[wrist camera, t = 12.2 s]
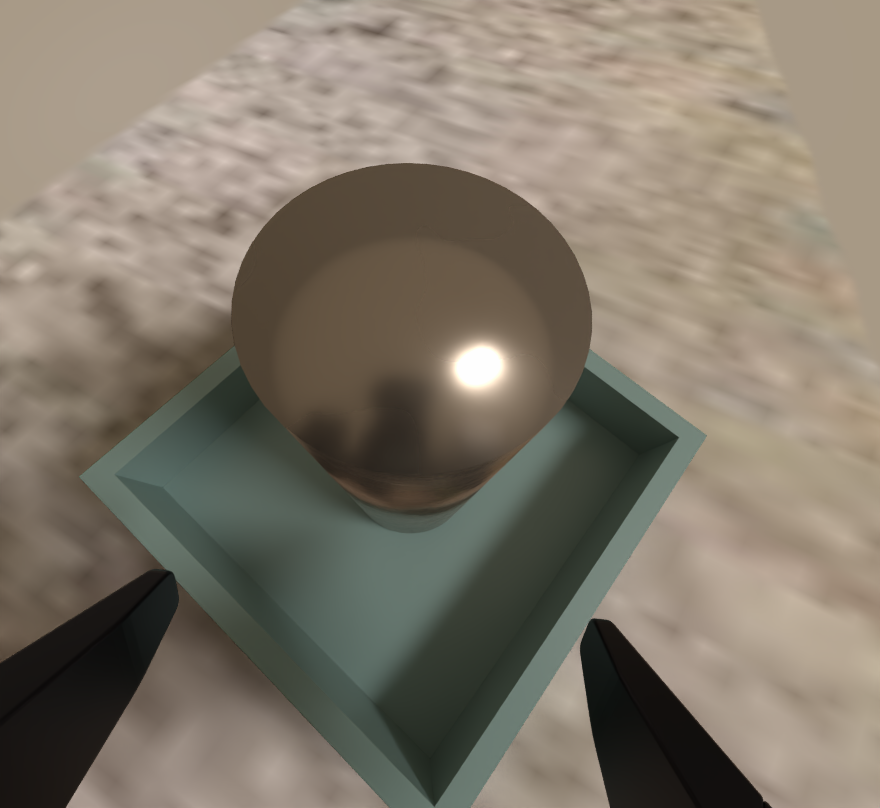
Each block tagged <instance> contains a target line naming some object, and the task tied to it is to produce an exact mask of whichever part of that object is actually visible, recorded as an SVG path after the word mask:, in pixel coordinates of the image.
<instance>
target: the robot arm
mask: <svg viewBox="0 0 880 808" xmlns="http://www.w3.org/2000/svg"><path fill="white" fill-rule="evenodd" d="M178 602H179V595H178V590H177V585H176V580H175V575H174V573H173V572H172V571H169V570H160V569H153V570H150V571H148V572H146V573H144V574H143V575H141V576H140V577H138V578H136V579H135V580H133V581H131V582H130V583H128V584H127V585H125V586H123V587H122V588H120V589H119V590H117V591H115V592H114V593H112V594H111V595H109V596H107V597H106V598H104V599H102V600H101V601H99V602H98V603H96V604H94V605H93V606H91V607H90V608H88V609H86V610H85V611H83V612H82V613H80V614H78V615H77V616H75V617H74V618H72V619H70V620H69V621H67V622H65V623H64V624H62V625H61V626H59V627H57V628H56V629H54V630H53V631H51V632H49V633H48V634H46V635H45V636H43V637H41V638H40V639H38V640H36V641H35V642H33V643H32V644H30V645H28V646H27V647H25V648H24V649H22V650H20V651H19V652H17V653H16V654H14V655H12V656H11V657H9V658H8V659H6V660H4V661H3V662H1V663H0V808H66V806H67V805H68V803H69V801H70V800H71V798H72V796H73V795H74V793H75V791H76V790H77V788H78V786H79V785H80V783H81V781H82V780H83V778H84V776H85V775H86V773H87V771H88V770H89V768H90V767H91V765H92V763H93V762H94V760H95V758H96V757H97V755H98V753H99V752H100V750H101V748H102V747H103V745H104V743H105V742H106V740H107V738H108V737H109V735H110V733H111V732H112V730H113V728H114V727H115V725H116V723H117V722H118V720H119V718H120V717H121V715H122V714H123V712H124V710H125V709H126V707H127V705H128V704H129V702H130V700H131V699H132V697H133V695H134V693H135V692H136V690H137V688H138V686H139V685H140V683H141V681H142V679H143V677H144V675H145V673H146V671H147V669H148V667H149V665H150V663H151V661H152V659H153V657H154V655H155V653H156V650H157V648H158V646H159V644H160V642H161V640H162V638H163V636H164V634H165V632H166V630H167V628H168V626H169V624H170V622H171V620H172V618H173V615H174V613H175V611H176V609H177V606H178ZM580 655H581V662H582V669H583V676H584V683H585V689H586V696H587V703H588V710H589V717H590V723H591V729H592V734H593V739H594V743H595V748H596V752H597V756H598V760H599V764H600V768H601V772H602V776H603V780H604V785H605V789H606V793H607V797H608V801H609V805H610V808H772V807H771V806H770V805H769V804H768V803H767V802H766V801H763V797H762V796H761V794H760V793H759V792H758V791H757V790H756V789H755V788H754V786H753V785H752V784H751V783H750V782H749V781H748V779H747V778H746V777H745V776H744V775H743V774H742V772H741V771H740V770H739V769H738V768H737V767H736V765H735V764H734V763H733V762H732V761H731V760H730V758H729V757H728V756H727V755H726V754H725V753H724V751H723V750H722V749H721V748H720V747H719V746H718V744H717V743H716V742H715V741H714V740H713V739H712V738H711V736H710V735H709V734H708V733H707V732H706V731H705V729H704V728H703V727H702V726H701V725H700V724H699V722H698V721H697V720H696V719H695V718H694V717H693V715H692V714H691V713H690V712H689V711H688V710H687V708H686V707H685V706H684V705H683V704H682V703H681V701H680V700H679V699H678V698H677V697H676V696H675V695H674V693H673V692H672V691H671V690H670V689H669V688H668V686H667V685H666V684H665V683H664V682H663V681H662V679H661V678H660V677H659V676H658V675H657V674H656V672H655V671H654V670H653V669H652V668H651V667H650V665H649V664H648V663H647V662H646V661H645V660H644V658H643V657H642V656H641V655H640V654H639V653H638V651H637V650H636V649H635V648H634V647H633V646H632V645H631V643H630V642H629V641H628V640H627V639H626V638H625V636H624V635H623V634H622V633H621V632H620V631H619V629H618V628H617V627H616V626H615V625H614V624H613V623H612V622H611V621H609V620H604V619H595V618H594V619H591V620H590V621H589V623H588V626H587V628H586V631H585V633H584V636H583V638H582V641H581V645H580Z"/></svg>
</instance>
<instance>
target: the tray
mask: <svg viewBox="0 0 880 808" xmlns="http://www.w3.org/2000/svg"><path fill="white" fill-rule="evenodd" d="M706 436H707V435H705V434H704V433H703V432H701V431H700V430H699V429H697V428H696V427H695V426H693V425H692V424H691V423H689V422H688V421H686V420H685V419H684V418H682V417H681V416H680V415H678V414H677V413H676V412H674V411H673V410H672V409H670V408H669V407H667V406H666V405H665V404H663V403H662V402H661V401H659V400H658V399H657V398H655V397H654V396H653V395H651V394H650V393H648V392H647V391H646V390H644V389H643V388H642V387H640V386H639V385H638V384H636V383H635V382H634V381H632V380H631V379H630V378H628V377H627V376H625V375H624V374H623V373H621V372H620V371H619V370H617V369H616V368H615V367H613V366H612V365H611V364H609V363H608V362H606V361H605V360H604V359H602V358H601V357H600V356H598V355H597V354H596V353H594V352H593V351H592V350H590V349H589V353H588V356H587V360H586V363H585V366H584V370H583V372H582V374H581V376H580V379H579V381H578V383H577V385H576V387H575V389H574V391H573V392H572V394H571V395H570V397H569V398H568V400H567V401H566V403H565V404H564V406H563V407H562V408H561V410H560V411H559V412H558V413H557V414H556V415H555V416H554V417H553V418H552V419H551V420H550V422H549V423H548V424H547V425H546V426H545V427H544V428H543V429H542V430H541V431H540V432H539V433H538V434H537V435H536V436H535V437H534V438H532V439H531V440H530V441H529V442H528V443H527V444H526V445H525V446H524V447H523V448H522V449H521V450H520V451H519V452H518V453H517V454H516V455H515V456H514V457H513V458H512V459H511V460H510V461H509V462H508V463H507V464H506V465H505V466H504V467H503V468H502V469H501V470H500V471H499V472H497V473H496V474H495V475H494V476H493V477H492V478H491V479H490V480H489V481H488V482H487V483H486V484H485V485H484V486H483V487H482V488H481V489H480V490H479V491H478V492H477V493H476V494H475V495H474V496H473V497H472V498H471V499H470V500H469V501H468V502H467V503H466V504H465V505H463V506H462V507H461V508H460V509H459V510H458V511H457V512H456V513H455V514H454V515H453V516H452V517H451V518H450V519H449V520H447V521H446V522H445V523H443V524H442V525H440V526H439V527H436V528H434V529H432V530H429V531H426V532H421V533H408V534H407V533H399V532H395V531H392V530H389V529H387V528H384V527H383V526H381V525H379V524H378V523H376V522H375V521H374V520H372V519H371V518H370V517H369V516H368V515H367V514H366V513H365V512H364V510H363V509H362V508H361V507H360V506H359V505H358V504H357V503H356V502H355V501H354V500H353V499H352V498H351V497H350V496H349V495H348V494H347V493H346V491H345V490H344V489H343V488H342V487H341V486H340V485H339V484H338V483H337V482H336V481H335V480H334V479H333V478H332V477H331V476H330V475H329V474H328V472H327V471H326V470H325V469H324V468H323V467H322V466H321V465H320V464H319V463H318V462H317V461H316V460H315V459H314V458H313V457H312V456H311V455H310V453H309V452H308V451H307V450H306V449H305V448H304V447H303V446H302V445H301V444H300V443H299V442H298V441H297V440H296V439H295V438H294V437H293V436H292V435H291V433H290V432H289V431H288V430H287V429H286V428H285V427H284V426H283V425H282V424H281V423H280V422H279V421H278V420H277V419H276V418H275V417H274V415H273V414H272V413H271V412H270V411H269V410H268V409H267V408H266V407H265V406H264V404H263V403H262V402H261V400H260V399H259V397H258V396H257V394H256V393H255V391H254V390H253V389H252V387H251V385H250V383H249V381H248V379H247V377H246V375H245V373H244V371H243V369H242V367H241V365H240V361H239V358H238V355H237V351H236V348H235V345H234V346H233V347H232V348H231V349H230V350H229V351H227V352H226V353H225V354H224V355H223V356H221V357H220V358H219V359H218V360H217V361H216V362H214V363H213V364H212V365H211V366H210V367H208V368H207V369H206V370H205V371H204V372H202V373H201V374H200V375H199V376H198V377H197V378H195V379H194V380H193V381H192V382H191V383H189V384H188V385H187V386H186V387H185V388H184V389H182V390H181V391H180V392H179V393H178V394H176V395H175V396H174V397H173V398H172V399H170V400H169V401H168V402H167V403H166V404H165V405H163V406H162V407H161V408H160V409H159V410H157V411H156V412H155V413H154V414H153V415H152V416H150V417H149V418H148V419H147V420H146V421H144V422H143V423H142V424H141V425H140V426H138V427H137V428H136V429H135V430H134V431H133V432H131V433H130V434H129V435H128V436H127V437H125V438H124V439H123V440H122V441H121V442H120V443H118V444H117V445H116V446H115V447H114V448H112V449H111V450H110V451H109V452H108V453H106V454H105V455H104V456H103V457H102V458H101V459H99V460H98V461H97V462H96V463H95V464H93V465H92V466H91V467H90V468H89V469H87V470H86V471H85V472H84V473H83V474H82V475H80V476H79V477H80V479H81V480H82V481H83V482H84V483H85V484H86V485H87V486H88V487H89V488H90V489H91V490H92V491H93V492H94V493H95V495H96V496H97V497H98V498H99V499H100V500H101V501H102V502H103V503H104V504H105V505H106V506H107V507H108V508H109V509H110V510H111V512H112V513H113V514H114V515H115V516H116V517H117V518H118V519H119V520H120V521H121V522H122V523H123V524H124V525H125V526H126V528H127V529H128V530H129V531H130V532H131V533H132V534H133V535H134V536H135V537H136V538H137V539H138V540H139V541H140V542H141V543H142V545H143V546H144V547H145V548H146V549H147V550H148V551H149V552H150V553H151V554H152V555H153V556H154V557H155V558H156V559H157V561H158V562H159V563H160V564H161V565H162V566H163V567H164V568H165V569H166V570H169V571H172V572H173V573H174V575H175V580H176V581H177V582H178V583H179V584H180V585H181V586H182V587H183V588H184V589H185V590H186V591H187V592H188V594H189V595H190V596H191V597H192V598H193V599H194V600H195V601H196V602H197V603H198V604H199V605H200V606H201V607H202V608H203V609H204V611H205V612H206V613H207V614H208V615H209V616H210V617H211V618H212V619H213V620H214V621H215V622H216V623H217V624H218V625H219V627H220V628H221V629H222V630H223V631H224V632H225V633H226V634H227V635H228V636H229V637H230V638H231V639H232V640H233V641H234V642H235V644H236V645H237V646H238V647H239V648H240V649H241V650H242V651H243V652H244V653H245V654H246V655H247V656H248V657H249V658H250V660H251V661H252V662H253V663H254V664H255V665H256V666H257V667H258V668H259V669H260V670H261V671H262V672H263V673H264V674H265V676H266V677H267V678H268V679H269V680H270V681H271V682H272V683H273V684H274V685H275V686H276V687H277V688H278V689H279V690H280V691H281V693H282V694H283V695H284V696H285V697H286V698H287V699H288V700H289V701H290V702H291V703H292V704H293V705H294V706H295V707H296V709H297V710H298V711H299V712H300V713H301V714H302V715H303V716H304V717H305V718H306V719H307V720H308V721H309V722H310V723H311V724H312V726H313V727H314V728H315V729H316V730H317V731H318V732H319V733H320V734H321V735H322V736H323V737H324V738H325V739H326V740H327V742H328V743H329V744H330V745H331V746H332V747H333V748H334V749H335V750H336V751H337V752H338V753H339V754H340V755H341V756H342V757H343V759H344V760H345V761H346V762H347V763H348V764H349V765H350V766H351V767H352V768H353V769H354V770H355V771H356V772H357V773H358V775H359V776H360V777H361V778H362V779H363V780H364V781H365V782H366V783H367V784H368V785H369V786H370V787H371V788H372V789H373V790H374V792H375V793H376V794H377V795H378V796H379V797H380V798H381V799H382V800H383V801H384V802H385V803H386V804H387V805H388V806H389V808H470V807H471V806H472V804H473V802H474V801H475V799H476V798H477V796H478V795H479V793H480V791H481V790H482V788H483V787H484V785H485V784H486V782H487V780H488V779H489V777H490V776H491V774H492V773H493V771H494V769H495V768H496V766H497V765H498V763H499V762H500V760H501V758H502V757H503V755H504V754H505V752H506V751H507V749H508V747H509V746H510V744H511V743H512V741H513V740H514V738H515V736H516V735H517V733H518V732H519V730H520V729H521V727H522V725H523V724H524V722H525V721H526V719H527V718H528V716H529V714H530V713H531V711H532V710H533V708H534V707H535V705H536V703H537V702H538V700H539V699H540V697H541V696H542V694H543V692H544V691H545V689H546V688H547V686H548V685H549V683H550V681H551V680H552V678H553V677H554V675H555V674H556V672H557V670H558V669H559V667H560V666H561V664H562V663H563V661H564V659H565V658H566V656H567V655H568V653H569V652H570V650H571V648H572V647H573V645H574V644H575V642H576V641H577V639H578V637H579V636H580V634H581V633H582V631H583V630H584V628H585V627H586V625H587V623H588V622H589V620H590V619H591V617H592V616H593V614H594V612H595V611H596V609H597V608H598V606H599V605H600V603H601V601H602V600H603V598H604V597H605V595H606V594H607V592H608V590H609V589H610V587H611V586H612V584H613V583H614V581H615V579H616V578H617V576H618V575H619V573H620V572H621V570H622V568H623V567H624V565H625V564H626V562H627V561H628V559H629V557H630V556H631V554H632V553H633V551H634V550H635V548H636V546H637V545H638V543H639V542H640V540H641V539H642V537H643V535H644V534H645V532H646V531H647V529H648V528H649V526H650V524H651V523H652V521H653V520H654V518H655V517H656V515H657V513H658V512H659V510H660V509H661V507H662V506H663V504H664V502H665V501H666V499H667V498H668V496H669V495H670V493H671V491H672V490H673V488H674V487H675V485H676V484H677V482H678V480H679V479H680V477H681V476H682V474H683V473H684V471H685V469H686V468H687V466H688V465H689V463H690V462H691V460H692V458H693V457H694V455H695V454H696V452H697V451H698V449H699V447H700V446H701V444H702V443H703V441H704V440H705V438H706Z"/></svg>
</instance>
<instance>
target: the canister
mask: <svg viewBox="0 0 880 808" xmlns="http://www.w3.org/2000/svg"><path fill="white" fill-rule="evenodd" d="M231 324H232V331H233V338H234V345H235V348H236V351H237V355H238V358H239V361H240V365H241V367H242V369H243V371H244V373H245V375H246V377H247V379H248V381H249V383H250V385H251V387H252V389H253V390H254V391H255V393H256V394H257V396H258V397H259V399H260V400H261V402H262V403H263V404H264V406H265V407H266V408H267V409H268V410H269V411H270V412H271V413H272V414H273V415H274V417H275V418H276V419H277V420H278V421H279V422H280V423H281V424H282V425H283V426H284V427H285V428H286V429H287V430H288V431H289V432H290V433H291V435H292V436H293V437H294V438H295V439H296V440H297V441H298V442H299V443H300V444H301V445H302V446H303V447H304V448H305V449H306V450H307V451H308V452H309V453H310V455H311V456H312V457H313V458H314V459H315V460H316V461H317V462H318V463H319V464H320V465H321V466H322V467H323V468H324V469H325V470H326V471H327V472H328V474H329V475H330V476H331V477H332V478H333V479H334V480H335V481H336V482H337V483H338V484H339V485H340V486H341V487H342V488H343V489H344V490H345V491H346V493H347V494H348V495H349V496H350V497H351V498H352V499H353V500H354V501H355V502H356V503H357V504H358V505H359V506H360V507H361V508H362V509H363V510H364V512H365V513H366V514H367V515H368V516H369V517H370V518H371V519H372V520H374V521H375V522H376V523H378V524H379V525H381V526H383V527H384V528H387V529H389V530H392V531H395V532H399V533H407V534H408V533H421V532H426V531H429V530H432V529H434V528H436V527H439V526H440V525H442V524H443V523H445V522H446V521H447V520H449V519H450V518H451V517H452V516H453V515H454V514H455V513H456V512H457V511H458V510H459V509H460V508H461V507H462V506H463V505H465V504H466V503H467V502H468V501H469V500H470V499H471V498H472V497H473V496H474V495H475V494H476V493H477V492H478V491H479V490H480V489H481V488H482V487H483V486H484V485H485V484H486V483H487V482H488V481H489V480H490V479H491V478H492V477H493V476H494V475H495V474H496V473H497V472H499V471H500V470H501V469H502V468H503V467H504V466H505V465H506V464H507V463H508V462H509V461H510V460H511V459H512V458H513V457H514V456H515V455H516V454H517V453H518V452H519V451H520V450H521V449H522V448H523V447H524V446H525V445H526V444H527V443H528V442H529V441H530V440H531V439H532V438H534V437H535V436H536V435H537V434H538V433H539V432H540V431H541V430H542V429H543V428H544V427H545V426H546V425H547V424H548V423H549V422H550V420H551V419H552V418H553V417H554V416H555V415H556V414H557V413H558V412H559V411H560V410H561V408H562V407H563V406H564V404H565V403H566V401H567V400H568V398H569V397H570V395H571V394H572V392H573V391H574V389H575V387H576V385H577V383H578V381H579V379H580V376H581V374H582V372H583V370H584V366H585V363H586V360H587V356H588V353H589V348H590V341H591V334H592V310H591V303H590V297H589V291H588V288H587V285H586V281H585V278H584V275H583V272H582V270H581V268H580V266H579V263H578V261H577V259H576V257H575V255H574V253H573V252H572V250H571V249H570V247H569V245H568V244H567V242H566V241H565V239H564V238H563V237H562V235H561V234H560V233H559V232H558V230H557V229H556V228H555V227H554V226H553V224H552V223H551V222H550V221H549V220H548V219H547V218H546V217H545V216H543V215H542V214H541V213H540V212H539V211H538V210H537V209H536V208H535V207H533V206H532V205H531V204H529V203H528V202H527V201H525V200H524V199H523V198H521V197H520V196H518V195H516V194H515V193H513V192H512V191H510V190H508V189H507V188H505V187H503V186H501V185H499V184H497V183H495V182H492V181H490V180H488V179H486V178H483V177H480V176H477V175H475V174H472V173H469V172H466V171H462V170H458V169H454V168H450V167H444V166H437V165H430V164H414V163H401V164H385V165H378V166H371V167H366V168H362V169H358V170H354V171H350V172H346V173H344V174H341V175H338V176H335V177H333V178H330V179H327V180H325V181H323V182H321V183H319V184H317V185H315V186H313V187H311V188H309V189H308V190H306V191H305V192H303V193H302V194H300V195H299V196H297V197H296V198H294V199H293V200H291V201H290V202H289V203H288V204H287V205H285V206H284V207H283V208H282V209H281V210H279V211H278V212H277V213H276V214H275V215H274V216H273V217H272V218H271V219H270V221H269V222H268V223H267V224H266V225H265V226H264V227H263V228H262V230H261V231H260V233H259V234H258V235H257V237H256V238H255V240H254V241H253V242H252V244H251V246H250V248H249V250H248V252H247V253H246V255H245V257H244V259H243V261H242V264H241V267H240V270H239V273H238V275H237V278H236V281H235V287H234V292H233V298H232V317H231Z"/></svg>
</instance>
